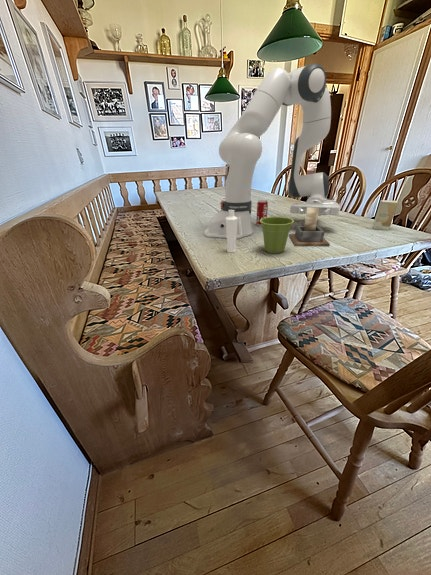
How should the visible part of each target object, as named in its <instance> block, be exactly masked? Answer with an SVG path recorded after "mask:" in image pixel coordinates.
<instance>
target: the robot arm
mask: <svg viewBox="0 0 431 575" xmlns="http://www.w3.org/2000/svg"><path fill="white" fill-rule="evenodd" d="M331 102H332V101H331V95H330V90H329V88H328V87H327V76H326V71H325V69H324V67H323V66H322V65H321V64H319V63H309V64H307V65H304V66H302V67H299V68H295V69H293V70H292V71H290V72H288V71H287V70H286V69H284V68H282V67H278V66H277V67H274V68H272V69H271V70H270V71H268V73H267V74H266V75H265V77H264V78H263V79H262V81H261V82H260V84H259V85H258V87H257V88H256V90H255V92H254V94H252V97H251V99H250V101H249V103H248V104H247V106H246V108H245V110H244V111H243V113H242V114H241V116H240V117H239V118H238V120H237V121H236V122H235V124H234V125H233V126H232V127H231V129H230V130H229V132H228V133H227V134H226V136H225V138H224V139H222V141H221V142H220V144H219V146H218V155H219V157H220V158H221V160H222V161H223V162H224V163H225V164H228V165H229V167H228V174H227V177H226V180H225V181H224V182H225V183H224V185H225V186H224V190H225V192H224V194H225V195H224V196H225V198H224V199H225V200H221V201H220V210H219V211H218V212H217V213H216V214H214V215H213V216H212V217H211V218H210V220H209V222H208V224H209V225H208V227H207V228H205V230H204V232H203V234H204V236H205V237H207V238H225V239H227V234H226V221H225V218H226V217H228V216H229V210H235V211H234V216H235V217H237V218H238V224H237V236H236V240H238V239H241V238H243V237H248V236H251V235H252V234H254V230H253V226H252V211H253V207H252V206H253V203H252V200H251V199H252V198H251V197H252V185H253V184H252V182H253V177H254V176H253V175H254V173H255V169H256V164H257V162H258V161H259V160H260V158H261V156H262V152H263V144H262V141H261V139H260V137H261V136H262V135H263V134H265V133H266V132H267V131H268V129H269V127H270V126H271V124H272V122H273V121H274V119H275V118H276V116H277V115H278V112H279V111H280V109H281V107H282V106H285V107H289V106H293V105H295V106H297V105H300V107H301V109H302V129H301V132H300V135H299V136H298V137H297V138H296V139H295V142H294V146H293V152H292V159H291V167H290V176H289V180H288V183H287V193H288V195H289V196H290V197H291V198H293V199H296V198H297V199H298V198H301V197H308V198H307V200H306V202H294V203H292V204H291V205H290V209H289V213H290V214H297V215H298V214H299V215H306V211H307V208H308V207H316V208H319V212H318V217H320V216H321V217H322V216H338V215H339V213H340V204H339V203H338V202H337V200H336V199H331V198H326V197H327V196H328V195H329V191H330V190H329V189H330V182H329V181H330V180H329V176H328V174H326V173H325V172H323V171H322V172H316V173H311V174H310V173H309V174H302V175H301V174H300V170H301V169H300V168H301V164H302V163H301V162H302V157H303V155H304V154H305V153H306V152H307V151H308V150H310V149H312V148H313V147H314V146H316V145H317V144H320V143H321V142H322V141H323V140H325V139H326V137H327V136H328V134H329V132H330V129H331V123H332V121H331V120H332V105H331V104H332V103H331Z"/></svg>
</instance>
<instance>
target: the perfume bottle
mask: <svg viewBox="0 0 431 575" xmlns="http://www.w3.org/2000/svg"><path fill="white" fill-rule="evenodd" d="M234 211H235V210H229V216H228V217H226V218H225V221H226V234H227V238H226V252H227V253H236V251H237V247H236V245H237V239H236V236H237V224H238V218H237V217H235V216H234Z"/></svg>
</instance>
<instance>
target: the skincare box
mask: <svg viewBox="0 0 431 575" xmlns="http://www.w3.org/2000/svg"><path fill="white" fill-rule="evenodd" d="M398 205H399V202H398V201H397V200H386V199H385V200H384V199H380V201H379V205H378V208H377V211H376V214H375V218H374V220H373V225H372V228H373V229H374V230H381V231H382V230H384V231H389V230H390V229H391V228H390V227H391V224H392V223H393V219H394V216H395V213H396V212H397V211H396V210H397V207H398Z"/></svg>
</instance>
